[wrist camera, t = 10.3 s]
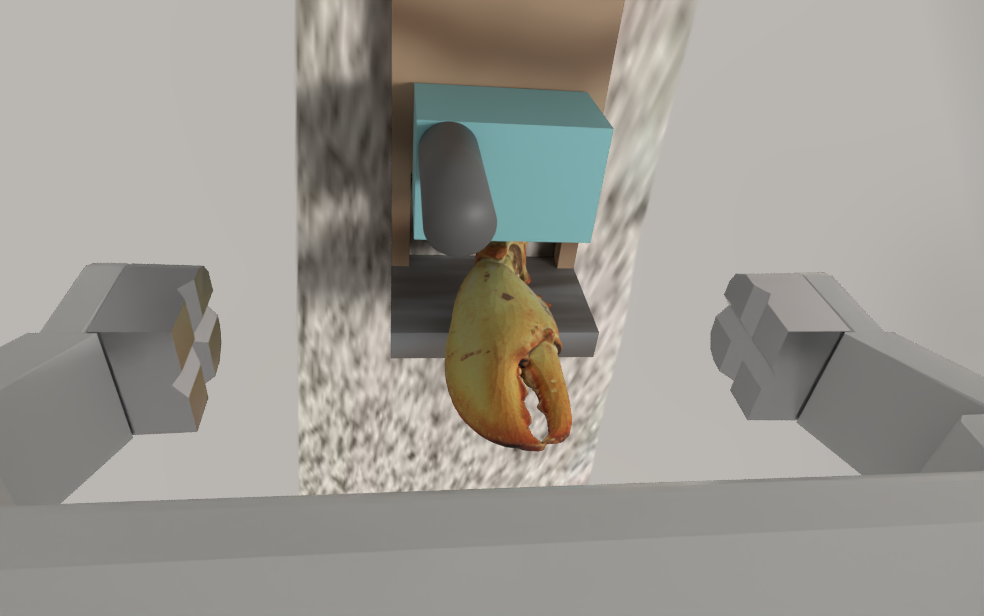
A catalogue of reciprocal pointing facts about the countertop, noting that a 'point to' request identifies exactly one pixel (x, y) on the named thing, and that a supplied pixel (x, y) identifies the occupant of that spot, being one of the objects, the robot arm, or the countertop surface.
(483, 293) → the crab claw
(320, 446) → the countertop surface
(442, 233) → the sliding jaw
